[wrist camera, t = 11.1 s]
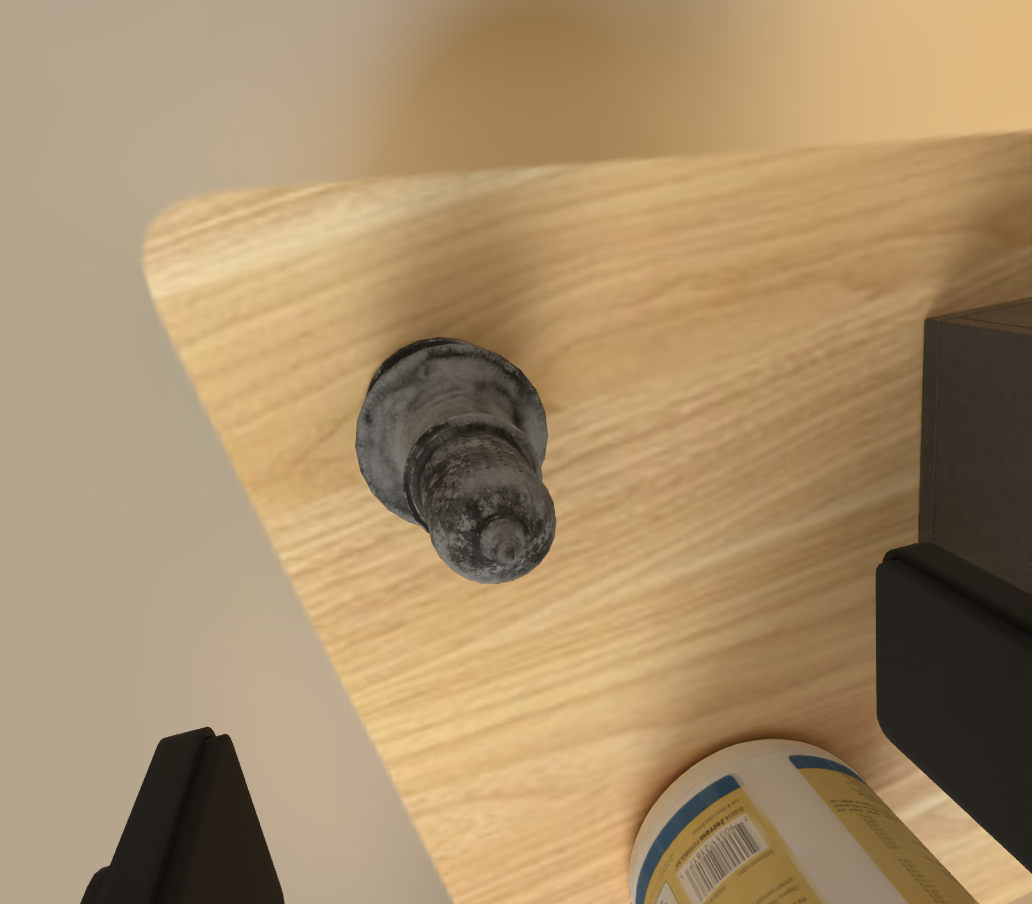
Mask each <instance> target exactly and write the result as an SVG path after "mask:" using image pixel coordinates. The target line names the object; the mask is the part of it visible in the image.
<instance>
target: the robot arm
mask: <svg viewBox="0 0 1032 904" xmlns="http://www.w3.org/2000/svg"><path fill="white" fill-rule="evenodd" d="M876 693H877V719H878V722H879V725H880V727H881V729H882V731H883V733H884V734H885V736H886V737H887V738H888V739H889V740H890V741H891V742H892V743H893V744H894V745H895V746H896V747H897V748H898V749H899V750H900V751H901V752H902V753H903V754H904V755H906V756H907V757H908V758H909V759H910V760H911V761H912V762H913V763H914V764H915V765H916V766H917V767H918V768H919V769H921V770H922V771H923V772H924V773H925V774H926V775H927V776H928V777H929V778H930V779H931V780H932V781H933V782H934V783H935V784H937V785H938V786H939V787H940V788H941V789H942V790H943V791H944V792H945V793H946V794H947V795H948V796H949V797H950V798H952V799H953V800H954V801H955V802H956V803H957V804H958V805H959V806H960V807H961V808H962V809H963V810H964V811H965V812H967V813H968V814H969V815H970V816H971V817H972V818H973V819H974V820H975V821H976V822H977V823H978V824H979V825H980V826H982V827H983V828H984V829H985V830H986V831H987V832H988V833H989V834H990V835H991V836H992V837H993V838H994V839H995V840H996V841H998V842H999V843H1000V844H1001V845H1002V846H1003V847H1004V848H1005V849H1006V850H1007V851H1008V852H1009V853H1010V854H1011V855H1013V856H1014V857H1015V858H1016V859H1017V860H1018V861H1019V862H1020V863H1021V864H1022V865H1023V866H1024V867H1025V868H1026V869H1028V870H1029V871H1030V872H1031V873H1032V594H1030V593H1028V592H1026V591H1024V590H1022V589H1020V588H1018V587H1016V586H1014V585H1012V584H1010V583H1008V582H1007V581H1005V580H1003V579H1001V578H999V577H997V576H995V575H993V574H991V573H989V572H987V571H985V570H984V569H982V568H980V567H978V566H976V565H974V564H972V563H970V562H968V561H966V560H964V559H962V558H961V557H959V556H957V555H955V554H953V553H951V552H949V551H947V550H945V549H943V548H941V547H939V546H937V545H936V544H933V543H930V542H920V543H916V544H912V545H909V546H905V547H901V548H897V549H893V550H890V551H888V552H887V553H886V554H885V556H884V558H883V563H880V564H879V565H878V567H877V569H876ZM80 904H284V897H283V892H282V889H281V886H280V882H279V880H278V877H277V874H276V871H275V868H274V865H273V862H272V859H271V856H270V853H269V850H268V847H267V844H266V841H265V838H264V835H263V832H262V829H261V826H260V823H259V820H258V817H257V814H256V811H255V808H254V805H253V802H252V799H251V796H250V793H249V790H248V787H247V784H246V781H245V778H244V775H243V772H242V769H241V766H240V763H239V761H238V757H237V754H236V751H235V748H234V745H233V743H232V740H231V738H230V737H229V735H227V734H223V735H219V736H216V735H215V733H214V731H213V730H212V729H211V728H210V727H205V728H201V729H197V730H193V731H189V732H185V733H182V734H177V735H173V736H170V737H166V738H163V739H162V740H160V742H159V744H158V746H157V748H156V751H155V753H154V756H153V758H152V761H151V763H150V766H149V768H148V771H147V774H146V776H145V778H144V781H143V783H142V786H141V789H140V791H139V794H138V796H137V798H136V801H135V804H134V806H133V809H132V811H131V814H130V816H129V819H128V821H127V824H126V826H125V829H124V831H123V834H122V836H121V839H120V841H119V844H118V846H117V849H116V852H115V854H114V856H113V859H112V861H111V864H110V866H107V867H104V868H102V869H100V870H99V871H98V872H97V873H95V874H94V876H93V878H92V879H91V881H90V883H89V885H88V886H87V889H86V891H85V894H84V896H83V898H82V901H81V903H80Z"/></svg>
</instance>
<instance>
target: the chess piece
mask: <svg viewBox="0 0 1032 904" xmlns="http://www.w3.org/2000/svg"><path fill="white" fill-rule="evenodd" d="M547 438H548V431H547V423H546V415H545V410H544V408H543V405H542V403H541V401H540V398H539V396H538V393H537V391H536V389H535V388H534V386H533V385H532V384H531V383H530V381H529V380H528V379H527V377H526V376H525V375H524V374H523V372H522V371H521V370H520V369H519V368H517V367H516V366H514V365H513V364H512V363H510V362H509V361H508V360H506V359H505V358H504V357H502V356H501V355H499V354H496V353H493V352H491V351H488V350H485V349H483V348H480V347H478V346H475V345H472V344H469V343H467V342H464V341H461V340H459V339H449V338H439V337H438V338H432V339H426V340H420V341H417V342H414V343H412V344H410V345H408V346H406V347H403V348H401V349H399V350H398V351H397V352H396V353H394V354H393V355H392V356H391V357H390V358H388V359H387V360H386V361H385V362H384V363H383V364H382V366H381V367H380V368H379V370H378V371H377V373H376V374H375V375H374V377H373V378H372V380H371V383H370V386H369V389H368V392H367V394H366V397H365V400H364V403H363V406H362V409H361V412H360V414H359V417H358V420H357V430H356V445H355V447H356V452H357V457H358V461H359V466H360V471H361V473H362V475H363V477H364V478H365V480H366V482H367V484H368V486H369V488H370V490H371V492H372V493H373V494H374V495H375V496H376V497H377V498H378V499H379V500H380V501H381V503H382V504H383V505H384V506H385V507H386V508H387V509H388V510H389V511H391V512H393V513H394V514H396V515H398V516H399V517H401V518H403V519H404V520H406V521H408V522H409V523H413V524H416V525H420V526H421V527H422V528H423V529H424V530H425V531H426V532H428V533H429V534H430V537H431V541H432V544H433V546H434V547H435V549H436V551H437V553H438V555H439V557H440V558H441V559H442V560H443V561H444V562H445V563H446V564H447V565H448V566H449V567H450V568H451V569H452V570H453V571H454V572H456V573H457V574H459V575H461V576H462V577H464V578H466V579H468V580H472V581H475V582H479V583H485V584H499V583H504V582H509V581H513V580H515V579H517V578H519V577H522V576H524V575H526V574H528V573H529V572H530V571H531V570H532V569H534V568H535V567H536V566H537V565H539V564H540V562H541V561H542V560H543V558H544V557H545V556H546V554H547V553H548V552H549V549H550V547H551V544H552V542H553V540H554V536H555V529H556V517H555V510H554V503H553V501H552V498H551V496H550V494H549V491H548V489H547V488H546V486H545V485H544V484H543V482H542V471H541V466H542V464H543V461H544V459H545V452H546V445H547Z"/></svg>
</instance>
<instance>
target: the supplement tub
mask: <svg viewBox="0 0 1032 904" xmlns="http://www.w3.org/2000/svg"><path fill="white" fill-rule="evenodd" d="M628 884H629V895H630V900H631V904H979V903H978V902H977V901H976V900H975V899H974V898H973V897H972V896H971V895H970V894H969V893H968V892H967V891H966V890H965V888H964V887H963V886H962V885H961V884H960V883H959V882H958V881H957V880H956V879H955V878H954V877H953V876H952V875H951V873H950V872H949V871H948V870H947V869H946V868H945V867H944V866H943V865H942V864H941V863H940V862H939V861H938V860H937V859H936V857H935V856H934V855H933V854H932V853H931V852H930V851H929V850H928V849H927V848H926V847H925V846H924V845H923V844H922V843H921V842H920V840H919V839H918V838H917V837H916V836H915V835H914V834H913V833H912V832H911V831H910V830H909V829H908V828H907V827H906V826H905V825H904V823H903V822H902V821H901V820H900V819H899V818H898V817H897V816H896V815H895V814H894V813H893V812H892V811H891V810H890V809H889V807H888V806H887V805H886V804H885V803H884V802H883V801H882V800H881V799H880V798H879V797H878V796H877V795H876V794H875V792H874V791H873V790H872V789H871V788H870V787H869V786H868V785H867V784H866V783H865V782H864V780H863V779H862V778H861V776H860V775H859V774H858V773H857V772H856V771H855V770H854V769H853V768H851V767H850V766H849V765H847V764H846V763H844V762H843V761H841V760H840V759H839V758H837V757H836V756H834V755H832V754H831V753H829V752H827V751H825V750H823V749H821V748H818V747H816V746H813V745H810V744H807V743H804V742H799V741H793V740H784V739H763V740H754V741H749V742H744V743H739V744H735V745H732V746H729V747H726V748H724V749H722V750H720V751H718V752H716V753H714V754H712V755H710V756H708V757H706V758H705V759H703V760H701V761H700V762H698V763H697V764H695V765H694V766H693V767H691V768H690V769H688V770H687V771H686V772H685V773H683V774H682V775H681V776H680V777H679V778H677V779H676V780H675V781H674V782H673V783H672V784H671V785H670V786H669V787H668V788H667V789H666V790H665V792H664V793H663V794H662V795H661V796H660V797H659V799H658V800H657V801H656V803H655V804H654V805H653V807H652V808H651V810H650V811H649V813H648V815H647V816H646V818H645V820H644V822H643V824H642V826H641V828H640V830H639V833H638V835H637V838H636V840H635V843H634V846H633V850H632V854H631V859H630V867H629V878H628Z"/></svg>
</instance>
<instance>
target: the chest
mask: <svg viewBox="0 0 1032 904" xmlns="http://www.w3.org/2000/svg"><path fill="white" fill-rule="evenodd" d="M920 542H930V543H933V544H936V545H937V546H939V547H941V548H943V549H945V550H947V551H949V552H951V553H953V554H955V555H957V556H959V557H961V558H962V559H964V560H966V561H968V562H970V563H972V564H974V565H976V566H978V567H980V568H982V569H984V570H985V571H987V572H989V573H991V574H993V575H995V576H997V577H999V578H1001V579H1003V580H1005V581H1007V582H1008V583H1010V584H1012V585H1014V586H1016V587H1018V588H1020V589H1022V590H1024V591H1026V592H1028V593H1030V594H1032V297H1030V298H1025V299H1020V300H1016V301H1011V302H1006V303H1001V304H996V305H991V306H987V307H982V308H977V309H972V310H967V311H962V312H958V313H953V314H948V315H943V316H938V317H933V318H929V319H926V320H925V342H924V379H923V416H922V453H921V489H920V526H919V543H920Z"/></svg>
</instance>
